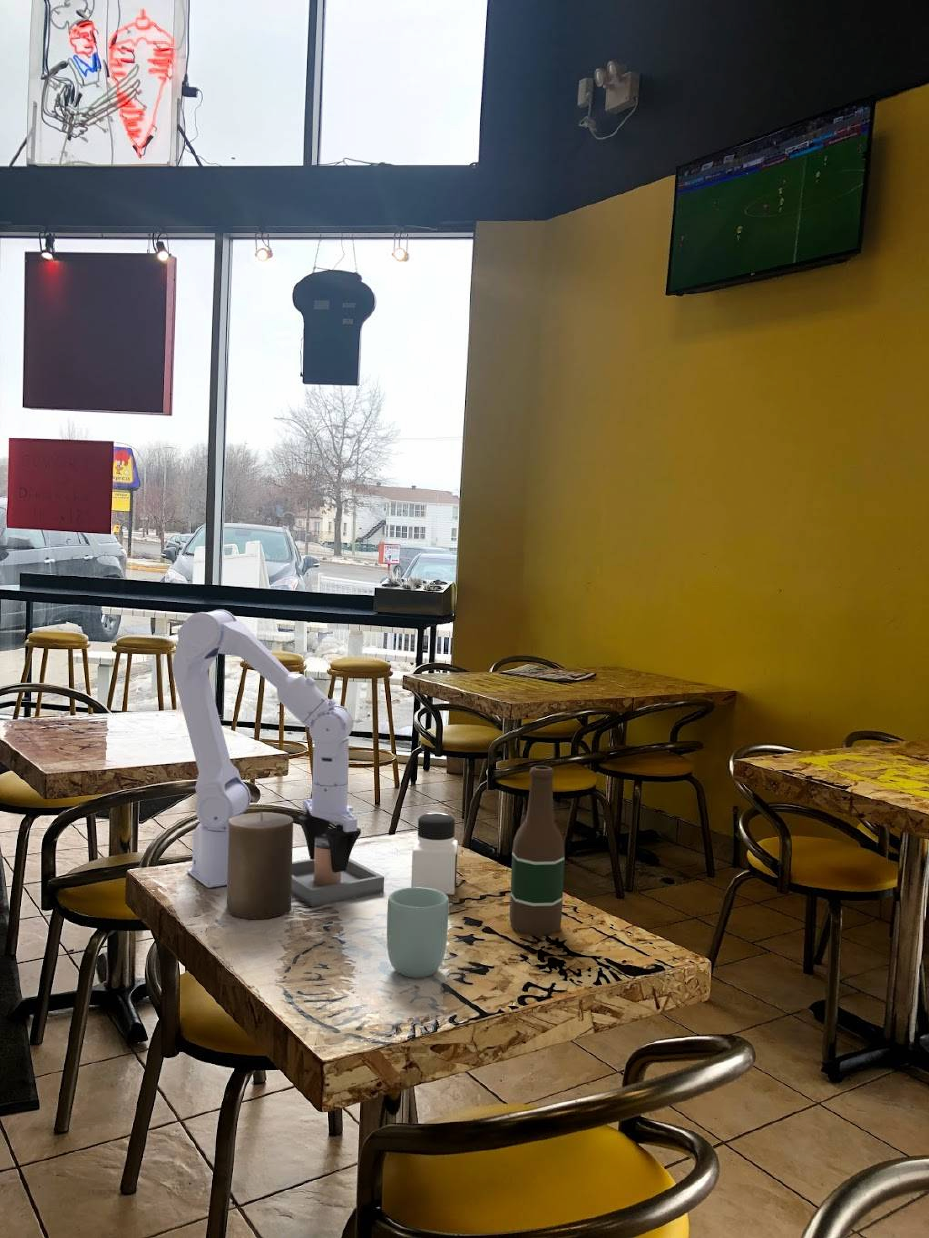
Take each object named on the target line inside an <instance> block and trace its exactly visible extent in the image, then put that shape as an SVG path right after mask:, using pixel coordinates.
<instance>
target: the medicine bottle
mask: <svg viewBox="0 0 929 1238" xmlns="http://www.w3.org/2000/svg"><path fill="white" fill-rule="evenodd" d="M417 823H418V824H417V838H415V840H414V843H413V849H412V856H411V857H412V858H411V859H412V860H411V881H410V882H411V883H410V884H411V886H410V888H411V887H423V888H430V889H434V890H438V891H440V892H443V893H444V894H446V895H447V896H448V895H451V896H452V895H455V894H456V890H457V889H456V888H457V886H456V885H457V875H458V874H457V871H458V868H457V867H458V866H457V865H458V845H459V841H458V840H457V839H455V833H456V832H455V829H456V819H455V818H454V817H453V816H452V815H449V814H447V813H444V812H428V813H425V814H423V815H421V816H419V818H418V820H417Z"/></svg>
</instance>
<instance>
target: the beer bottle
mask: <svg viewBox="0 0 929 1238" xmlns="http://www.w3.org/2000/svg"><path fill="white" fill-rule="evenodd" d="M529 775H530V782H529V783H530V784H529V793H528V800H527V802H528V803H527V811H526V813H525V814H526V815H525V819H524V821H523V822H522V824H521V825H520V826H519V828H517V831H516V834H515V836H514V838H513V842H512V843H513V844H512V850H511V851H512V853H511V870H510V871H511V872H510V873H511V874H510V875H511V876H510V892H509V893H510V897H509V922H510V925H511V926H512V928H513V929H514V931H515V932H518V933H522V934H525V935H528V936H533V937H534V936H551V935H552V934H554V933H555V932H557V931H559V930H560V929H561V926H562V925H561V924H562V917H563V901H564V900H563V899H564V896H563V895H564V876H565V875H564V873H565V857H566V856H565V842H564V839H563V835H562V833H561V831H560V830H559V828H558V826H557V824H556V823H555V817H554V816H555V815H554V798H553V797H554V792H553V788H554V786H553V785H554V783H553V780H554V779H553V778H554V777H555V770H554V769H553V768H552V767H550V766H547V765H534V766H533V767H530V769H529Z"/></svg>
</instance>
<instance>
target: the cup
mask: <svg viewBox="0 0 929 1238" xmlns="http://www.w3.org/2000/svg"><path fill="white" fill-rule="evenodd" d="M449 902H450V899H449V897H448V894H444V893H443V892H440V891H438V890H434V889H430V888H423V887H411V886H410V887H405V888H400V889H398V890H395V891H393V892H391V893H390V894H389V895H388V899H387V909H386V910H387V913H386V914H387V915H386V916H387V917H386V947H387V954H388V960H389V963H390V965H391V967H392V968H393V969H394V970H395V972H397V973H398V974H400V975H402V976H404V977H408V978H413V979H419V978H421V979H422V978H425V977H428V976H431V975H433V974H435V973H436V972H437V971H438V970H439V969H440V968H441V965H442V964H443V962H444V958H445V955H446V951H447V941H448V934H449V933H448V932H449V931H448V930H449V916H450V915H449V913H450V912H449V911H450V909H449V908H450V905H449V904H450V903H449Z"/></svg>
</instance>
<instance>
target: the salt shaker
mask: <svg viewBox="0 0 929 1238" xmlns="http://www.w3.org/2000/svg"><path fill="white" fill-rule="evenodd" d="M339 883H341V872H336V873H334V872H333V871H332V866H331V852H330V846H329V842H328V839H327V836H326V834H319V835H317V836H315V853H314V884H315V885H317V886H320V887H323V886H329V885H334V884H339Z"/></svg>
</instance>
